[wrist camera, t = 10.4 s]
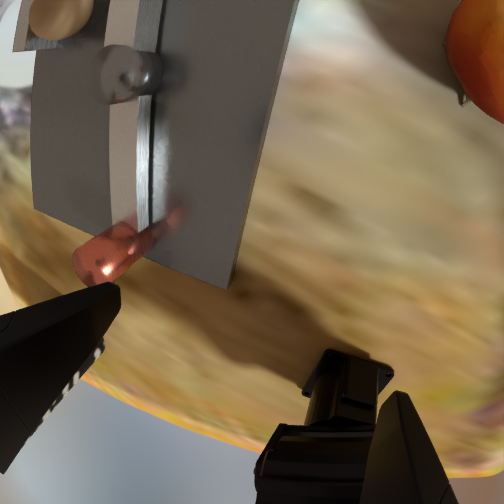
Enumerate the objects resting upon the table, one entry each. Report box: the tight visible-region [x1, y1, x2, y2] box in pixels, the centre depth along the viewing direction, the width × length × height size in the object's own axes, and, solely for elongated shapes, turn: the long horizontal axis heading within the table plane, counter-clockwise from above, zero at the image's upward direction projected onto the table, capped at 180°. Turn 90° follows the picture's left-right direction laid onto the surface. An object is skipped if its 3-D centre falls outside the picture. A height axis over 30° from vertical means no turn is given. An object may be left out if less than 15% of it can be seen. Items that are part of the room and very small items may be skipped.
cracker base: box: [13, 0, 299, 290], centre depth 19 cm, size 22×22×4 cm
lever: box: [73, 0, 163, 287], centre depth 17 cm, size 20×4×6 cm, turn 173°
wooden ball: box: [29, 0, 94, 41], centre depth 14 cm, size 5×5×5 cm
